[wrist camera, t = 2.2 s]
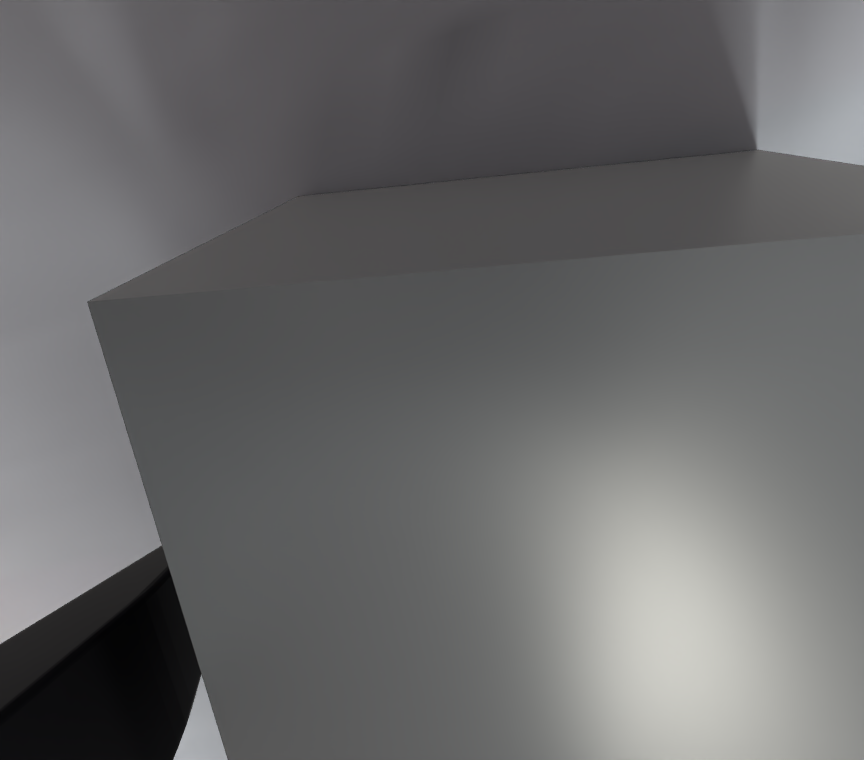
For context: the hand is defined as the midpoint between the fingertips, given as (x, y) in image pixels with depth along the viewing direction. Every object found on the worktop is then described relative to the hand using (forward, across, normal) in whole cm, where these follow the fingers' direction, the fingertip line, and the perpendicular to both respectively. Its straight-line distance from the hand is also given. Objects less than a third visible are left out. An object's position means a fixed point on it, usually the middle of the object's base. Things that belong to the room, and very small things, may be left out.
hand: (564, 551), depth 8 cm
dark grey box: (+5, 0, 0) cm, 5 cm away
